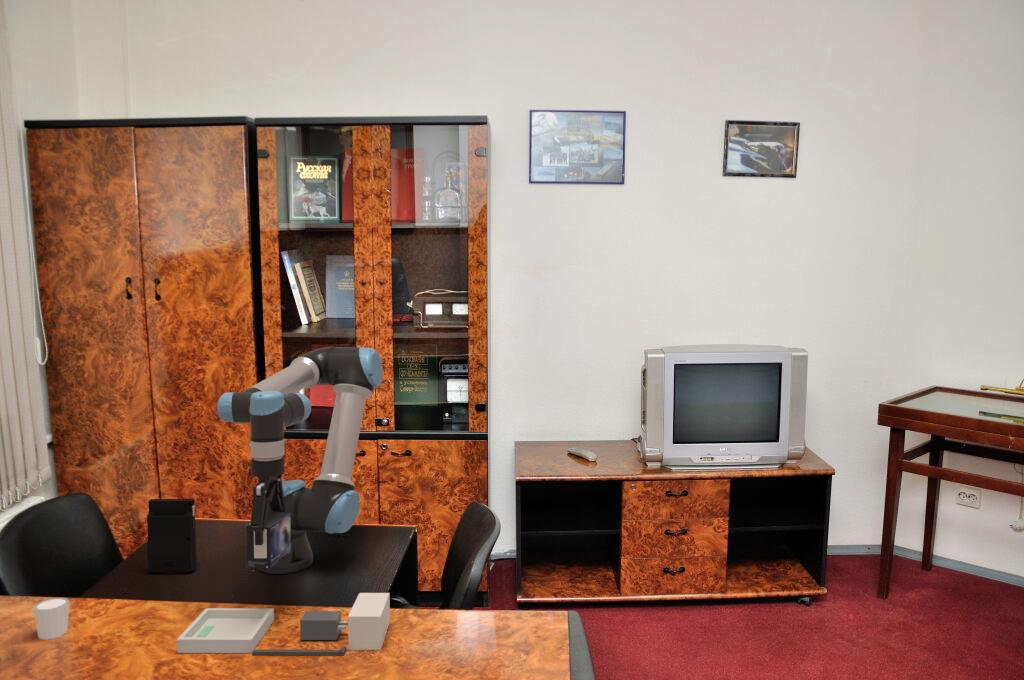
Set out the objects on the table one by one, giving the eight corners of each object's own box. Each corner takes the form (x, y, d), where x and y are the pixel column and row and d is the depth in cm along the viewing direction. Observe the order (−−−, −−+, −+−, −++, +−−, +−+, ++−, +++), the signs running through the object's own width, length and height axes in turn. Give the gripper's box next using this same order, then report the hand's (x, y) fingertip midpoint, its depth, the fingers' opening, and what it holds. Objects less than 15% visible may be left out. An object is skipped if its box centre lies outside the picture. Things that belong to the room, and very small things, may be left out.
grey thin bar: (256, 649, 158) (256, 646, 158) (346, 649, 158) (346, 646, 158) (252, 655, 156) (252, 651, 156) (343, 655, 156) (343, 652, 156)
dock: (206, 620, 172) (205, 608, 172) (274, 620, 172) (273, 608, 172) (177, 652, 157) (176, 639, 157) (251, 653, 157) (251, 639, 157)
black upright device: (198, 568, 203) (196, 498, 201) (191, 575, 198) (189, 503, 196) (154, 569, 202) (151, 498, 201) (146, 575, 198) (143, 503, 196)
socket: (359, 623, 170) (358, 592, 170) (389, 624, 170) (389, 592, 170) (347, 649, 158) (347, 616, 158) (380, 649, 158) (380, 616, 158)
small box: (271, 571, 167) (269, 526, 166) (245, 569, 169) (243, 524, 168) (293, 553, 178) (291, 511, 177) (268, 551, 179) (267, 510, 178)
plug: (306, 630, 167) (305, 611, 166) (349, 630, 167) (348, 611, 166) (300, 639, 162) (300, 620, 162) (344, 640, 162) (344, 620, 162)
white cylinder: (33, 643, 161) (31, 613, 160) (36, 630, 167) (35, 600, 166) (69, 636, 164) (68, 606, 163) (71, 624, 170) (70, 595, 169)
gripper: (267, 446, 183) (268, 532, 185) (233, 469, 160) (234, 567, 161) (297, 447, 183) (298, 532, 185) (267, 469, 160) (269, 567, 161)
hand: (268, 548), depth 173 cm, fingers closed on small box, 11 cm apart
